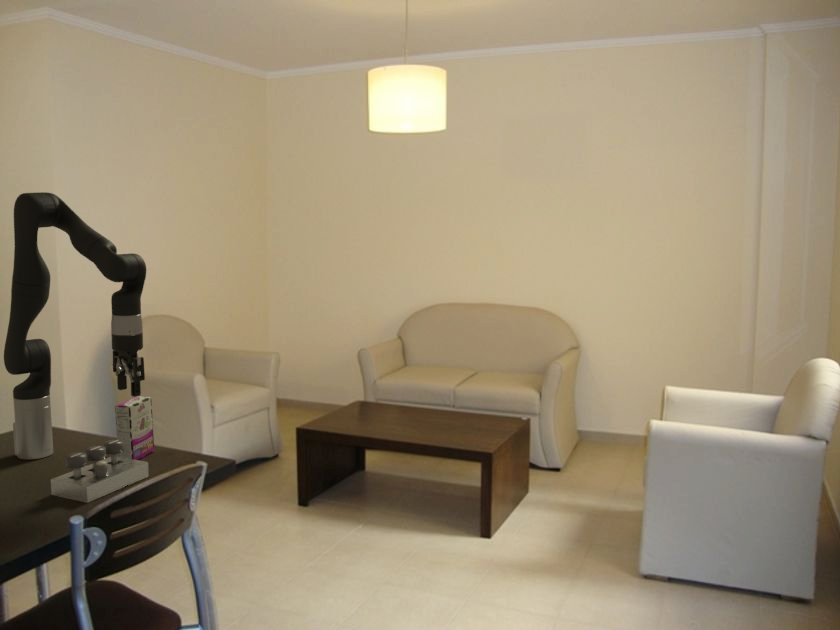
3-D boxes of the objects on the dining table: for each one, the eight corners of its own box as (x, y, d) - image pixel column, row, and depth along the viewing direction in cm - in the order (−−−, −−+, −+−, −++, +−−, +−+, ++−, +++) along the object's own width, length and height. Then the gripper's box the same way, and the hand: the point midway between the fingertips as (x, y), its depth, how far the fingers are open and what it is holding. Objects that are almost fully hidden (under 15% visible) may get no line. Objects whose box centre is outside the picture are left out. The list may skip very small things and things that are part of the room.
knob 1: (62, 480, 185) (61, 456, 184) (78, 474, 189) (77, 450, 189) (76, 483, 183) (75, 459, 182) (92, 477, 188) (91, 453, 187)
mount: (51, 494, 185) (50, 479, 184) (114, 470, 203) (113, 455, 203) (87, 502, 180) (86, 486, 180) (148, 476, 198) (148, 461, 198)
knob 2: (82, 472, 191) (80, 449, 190) (97, 467, 195) (96, 444, 194) (96, 475, 189) (95, 452, 188) (111, 469, 193) (110, 446, 192)
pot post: (92, 477, 186) (92, 463, 186) (102, 473, 189) (101, 459, 188) (101, 478, 185) (101, 465, 185) (111, 475, 188) (110, 461, 187)
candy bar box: (139, 450, 220) (137, 395, 218) (154, 451, 219) (152, 396, 217) (116, 462, 209) (114, 405, 207) (133, 463, 208) (130, 406, 206)
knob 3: (100, 465, 196) (99, 442, 195) (115, 460, 200) (114, 438, 199) (114, 468, 194) (113, 445, 193) (128, 462, 198) (127, 440, 198)
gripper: (101, 329, 196) (103, 389, 198) (123, 337, 186) (126, 400, 188) (129, 326, 201) (131, 385, 204) (153, 333, 191) (154, 396, 193)
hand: (129, 392), depth 196 cm, fingers open, 8 cm apart
